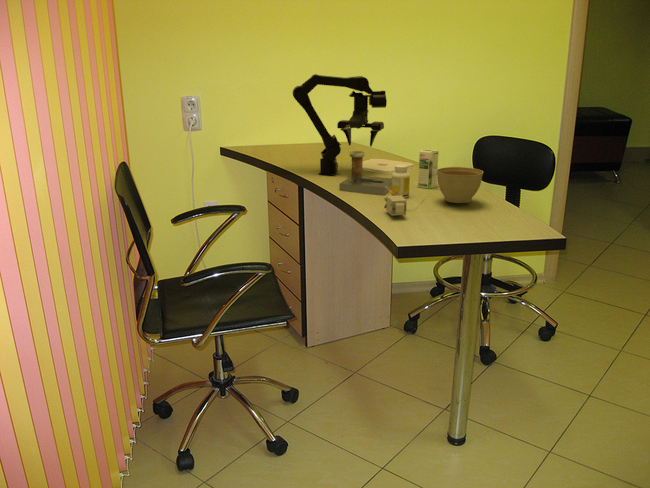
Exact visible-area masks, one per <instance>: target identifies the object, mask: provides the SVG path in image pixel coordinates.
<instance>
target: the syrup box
mask: <svg viewBox="0 0 650 488" xmlns="http://www.w3.org/2000/svg"><path fill="white" fill-rule="evenodd" d="M439 152H440V151H439V150H434V149H420V150H419V153H418V176H417V179H418V180H417V188H422V189H428V190H430V189H433V188H436V187H437V185H438V178H437V170H438V169H439V168H438V167H439V165H438V164H439Z"/></svg>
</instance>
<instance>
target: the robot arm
mask: <svg viewBox="0 0 650 488" xmlns="http://www.w3.org/2000/svg"><path fill="white" fill-rule="evenodd" d="M318 85H320V86H332V87H342V88H347V89H350V90H352V91H351V93H350V94H348V97H350V98H353V110H352V116H351V117H350V118H349V119H341V120H339V121H338V122H337V124H336V125H337V127H336V128H337V129H339V130H340V131H341V132H343V133H344V134H345V135H344V136H345V137H346V140H347V143H348V146H351V145H352V129H358V130H359V129H361V128H367V129H371V130H370V140H369V147H371V148H372V147H373V144H374V141H375V139H376V136H377V135H378V133H379V132H381V131H382V130H383V129H384V128H385V124H384V122H383V121H373V122H369V118H368V115H369V114H368V113H369V106H371V108H373V109H381V108H386V107H387V102H388V100H387V95H386V92H387V91H386V90H376V91H375V90H374V91H373V89H372V88H371V86H370V82H369V80H368V78H366V77H364V76H362V75H359V76H358V75H357V76H349V77H347V76H346V77H344V76H342V77H341V76H332V75H322V74H321V75H320V74H317V73H315V74H313V75H311V77H309V78H308V79H306V81H304V82H303V83H302V84H301V85H296V86H295V87H294V88H293V89H292V92H291V93H292V96H293V98H294V100H295V101H296V102H297V103H298V104H299V106H300V107H301V108H302V109H303V110H304V111H305V113H306V115H307V116H308V118H309V119H310V122H311V123H312V125H313V126H314V127H315V129H316V131H317V133H318V134H319V136H320V137H321V140H322V143H323V145H324V149H322V151H321V152H320V155H321V157H322V158H320V160H319V161H320V162H319V163H320V167H319V172H318V174H319V175H326V176H327V175H328V176H334V175H337V174H338V173H339V167H338V165H339V163H338V161H337V160H338V159H337V157H338V156H339V155H340V154H341V151H342V148H341V145H342V144H341V143H340V141H339V140H338V139H337V136H336V134H333V135H332V134H330V133H329V131H328V129H327V128H326V126H325V125H324V123H323V121H322V120H321V118H320V116H319V115H318V113H317V111H316V109H315V107H314V106H313V105H312V102H311V99H310V96H309V93H311V92H312V91H313V90H314V89H315V88H316V86H318ZM356 91H357V92H356ZM363 92H364V93H366V94H364V93H363Z"/></svg>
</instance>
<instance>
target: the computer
mask: <svg viewBox="0 0 650 488" xmlns="http://www.w3.org/2000/svg"><path fill="white" fill-rule="evenodd" d="M395 165H407V166H408V169H411V168H413V167H414V163H412V162H407V161H400V160H391V159H384V158H383V159H382V158H371V159H368V160H367V159H366V160H364V161H363V164H362V171H368V172H373V173H378V174H384V175H392V174H393V173H394V172H395ZM350 167H351V168H352V164H350Z"/></svg>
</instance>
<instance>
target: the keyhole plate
mask: <svg viewBox="0 0 650 488" xmlns="http://www.w3.org/2000/svg"><path fill="white" fill-rule="evenodd" d="M338 185H339V187H338V188H339V191H341V192H349V193H356V194H357V193H358V194H367V195H379V196H387V194H388V193H390V191H389V190H388V189H387V188H386V187H388V188H389V189H390V190H392V177H391V178H390V177H379V176H365V175H362V176H355V175H353V176H349V177H348V178H347V179H345V180H343V181H342V182H340V183H339V184H338ZM385 186H386V187H385Z"/></svg>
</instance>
